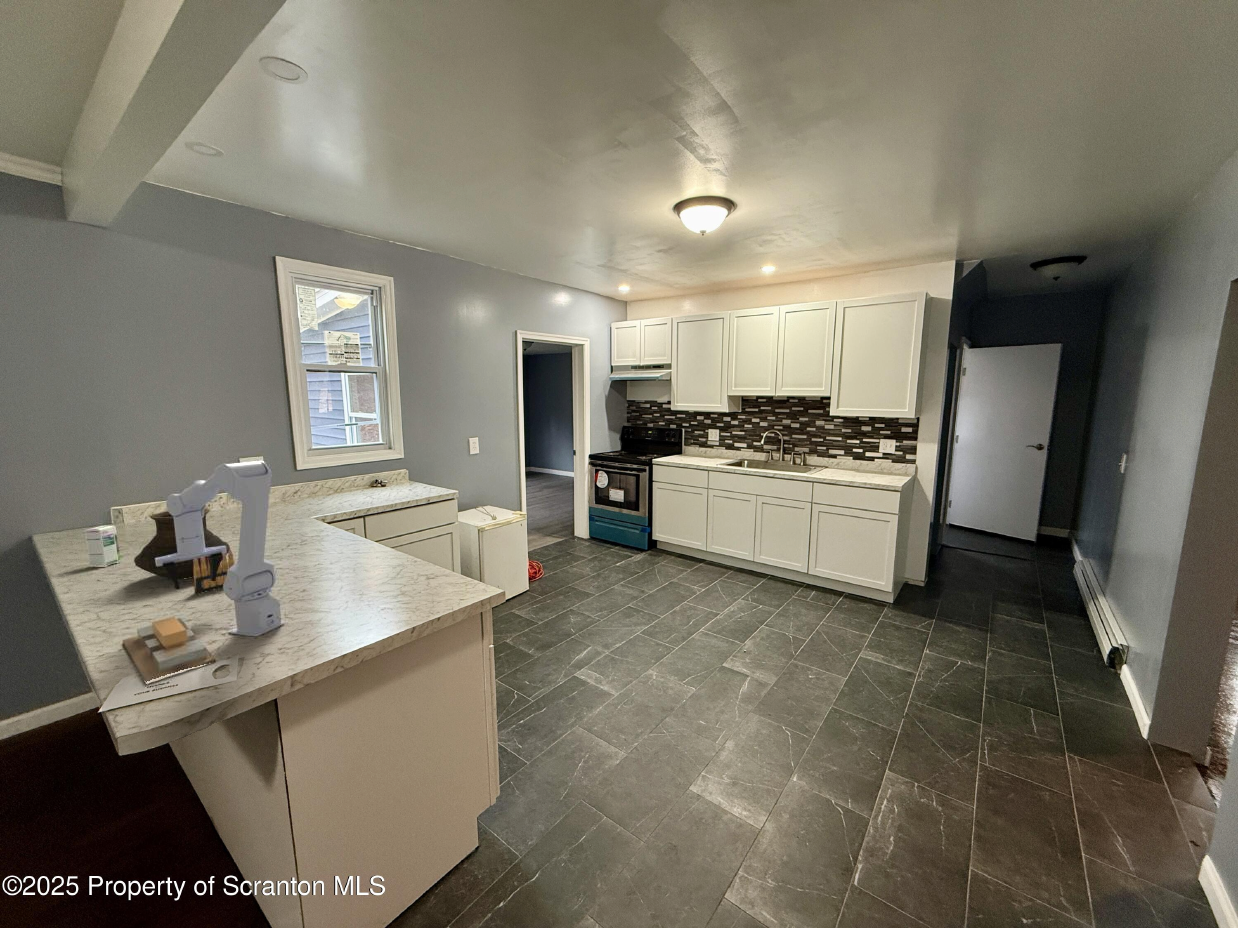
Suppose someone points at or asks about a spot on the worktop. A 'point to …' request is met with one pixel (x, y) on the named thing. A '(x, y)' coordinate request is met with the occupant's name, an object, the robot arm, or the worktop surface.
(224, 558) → the ammunition clip
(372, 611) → the worktop surface
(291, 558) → the worktop surface
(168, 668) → the rail
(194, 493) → the robot arm
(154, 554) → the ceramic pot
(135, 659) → the rail base
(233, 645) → the worktop surface
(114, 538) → the syrup box
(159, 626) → the tan rectangular plank
